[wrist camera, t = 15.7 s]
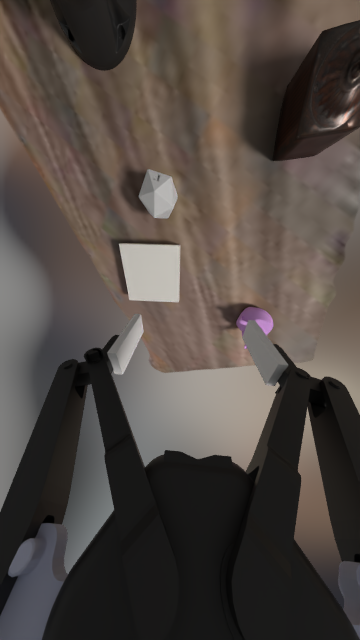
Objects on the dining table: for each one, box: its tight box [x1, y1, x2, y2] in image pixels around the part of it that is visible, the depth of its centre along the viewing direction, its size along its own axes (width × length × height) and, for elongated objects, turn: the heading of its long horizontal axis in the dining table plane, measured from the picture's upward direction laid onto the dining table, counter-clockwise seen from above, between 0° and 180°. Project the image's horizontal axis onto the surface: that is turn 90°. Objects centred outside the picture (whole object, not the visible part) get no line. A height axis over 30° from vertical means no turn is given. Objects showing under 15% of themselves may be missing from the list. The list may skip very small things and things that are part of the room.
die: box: [139, 169, 178, 219], centre depth 33 cm, size 8×9×10 cm
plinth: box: [119, 243, 180, 302], centre depth 46 cm, size 18×18×4 cm
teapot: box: [236, 307, 273, 349], centre depth 52 cm, size 15×14×10 cm
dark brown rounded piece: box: [273, 20, 360, 161], centre depth 20 cm, size 16×11×18 cm
